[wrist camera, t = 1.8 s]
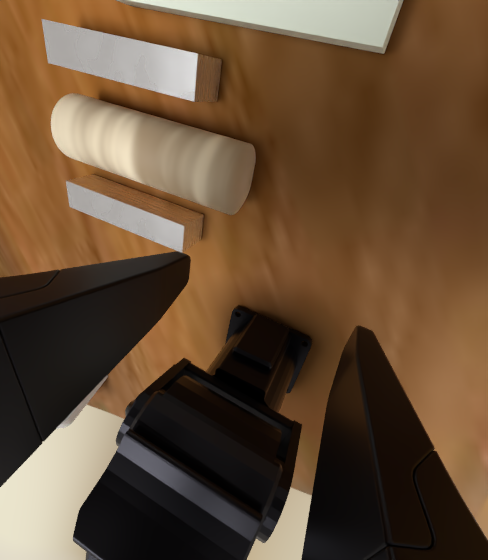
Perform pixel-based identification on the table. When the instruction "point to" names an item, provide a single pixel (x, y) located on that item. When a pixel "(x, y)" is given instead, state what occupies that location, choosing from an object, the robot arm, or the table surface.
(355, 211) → the table surface
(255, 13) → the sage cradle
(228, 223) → the table surface
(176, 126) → the maple axle
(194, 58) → the steel guide
